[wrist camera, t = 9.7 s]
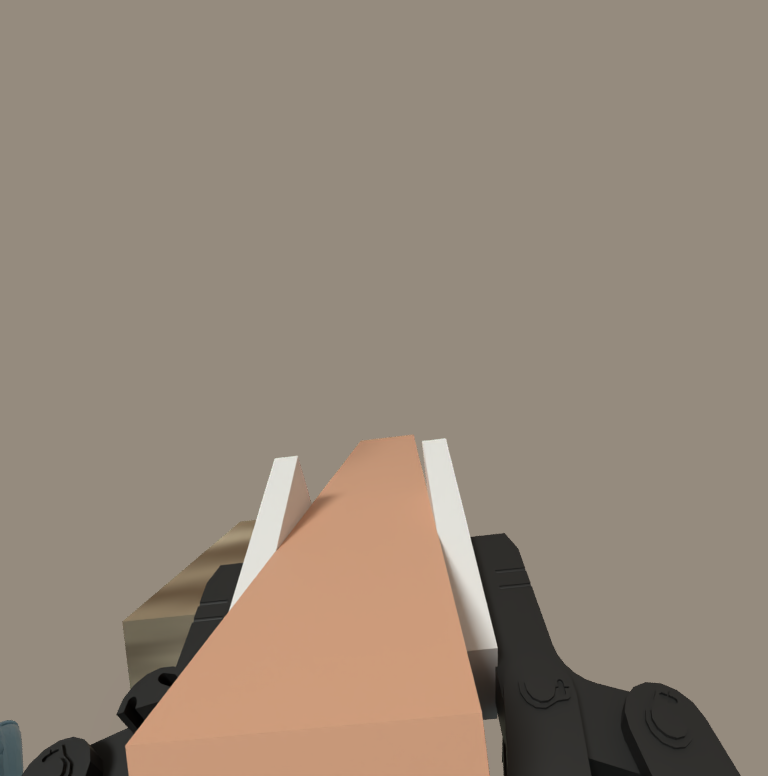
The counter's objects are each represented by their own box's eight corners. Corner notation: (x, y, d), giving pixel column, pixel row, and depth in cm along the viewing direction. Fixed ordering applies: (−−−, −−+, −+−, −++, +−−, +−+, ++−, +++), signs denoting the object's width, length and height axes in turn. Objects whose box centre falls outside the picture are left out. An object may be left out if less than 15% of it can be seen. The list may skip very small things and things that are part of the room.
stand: (361, 1140, 24) (297, 604, 24) (185, 1149, 25) (122, 621, 25) (378, 818, 42) (341, 510, 42) (276, 826, 43) (240, 521, 43)
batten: (527, 1082, 5) (481, 712, 5) (168, 1102, 5) (124, 744, 5) (420, 487, 33) (413, 434, 33) (367, 493, 33) (360, 440, 33)
